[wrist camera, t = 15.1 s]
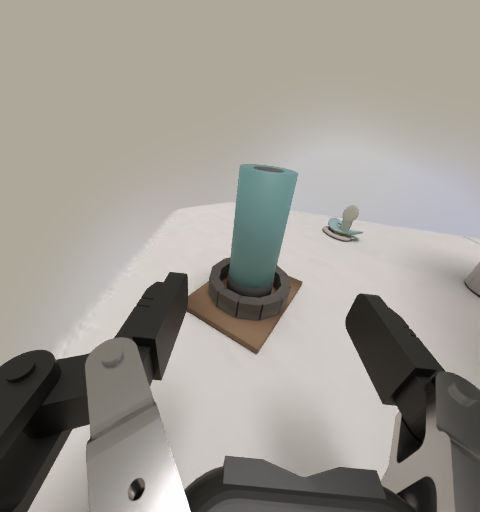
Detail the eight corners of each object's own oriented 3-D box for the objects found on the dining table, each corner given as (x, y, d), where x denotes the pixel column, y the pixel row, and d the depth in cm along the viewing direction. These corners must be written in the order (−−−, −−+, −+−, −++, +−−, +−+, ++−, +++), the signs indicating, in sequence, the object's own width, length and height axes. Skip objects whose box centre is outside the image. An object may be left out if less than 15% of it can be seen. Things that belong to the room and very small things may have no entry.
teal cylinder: (241, 273, 27) (256, 162, 20) (277, 289, 25) (307, 172, 18) (217, 293, 23) (226, 165, 17) (257, 314, 21) (286, 178, 14)
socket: (241, 260, 31) (243, 244, 29) (301, 285, 27) (306, 268, 26) (180, 306, 22) (179, 286, 20) (256, 354, 18) (261, 333, 17)
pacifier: (341, 245, 40) (363, 241, 42) (353, 213, 37) (376, 211, 39) (315, 229, 46) (336, 227, 48) (323, 200, 42) (345, 199, 45)
